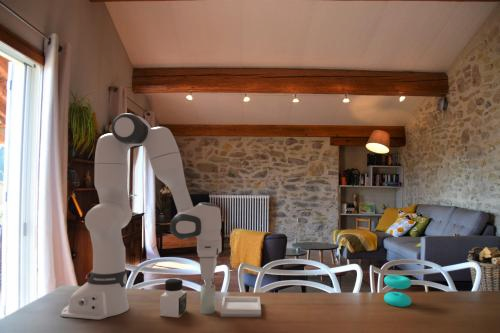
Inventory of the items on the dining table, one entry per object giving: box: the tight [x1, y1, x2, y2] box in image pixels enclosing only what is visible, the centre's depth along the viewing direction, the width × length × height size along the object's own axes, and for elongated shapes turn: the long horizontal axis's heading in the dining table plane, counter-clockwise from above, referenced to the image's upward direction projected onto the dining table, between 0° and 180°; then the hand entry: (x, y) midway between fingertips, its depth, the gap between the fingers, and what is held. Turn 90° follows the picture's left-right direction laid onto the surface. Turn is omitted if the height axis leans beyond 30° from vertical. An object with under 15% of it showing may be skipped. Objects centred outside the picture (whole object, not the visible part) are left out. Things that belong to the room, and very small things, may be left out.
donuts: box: [383, 274, 412, 308], centre depth 146 cm, size 10×10×10 cm
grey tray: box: [220, 296, 262, 318], centre depth 137 cm, size 14×14×2 cm
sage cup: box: [200, 284, 216, 315], centre depth 135 cm, size 5×5×9 cm
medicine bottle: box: [159, 277, 187, 319], centre depth 133 cm, size 7×7×12 cm
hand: (209, 285), depth 135 cm, fingers open, 8 cm apart
